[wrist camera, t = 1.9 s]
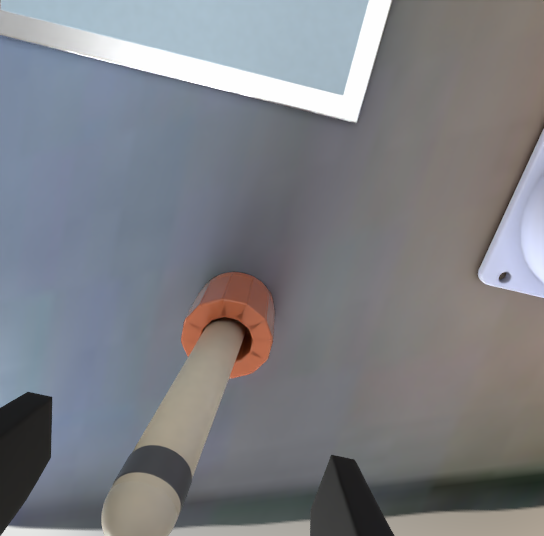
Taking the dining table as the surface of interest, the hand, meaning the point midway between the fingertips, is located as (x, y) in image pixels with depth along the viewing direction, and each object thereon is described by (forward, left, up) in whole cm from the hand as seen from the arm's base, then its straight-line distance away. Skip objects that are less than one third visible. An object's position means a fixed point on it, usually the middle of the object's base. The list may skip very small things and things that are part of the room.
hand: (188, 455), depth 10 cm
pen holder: (0, 0, -9) cm, 9 cm away
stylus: (0, 0, -8) cm, 8 cm away
